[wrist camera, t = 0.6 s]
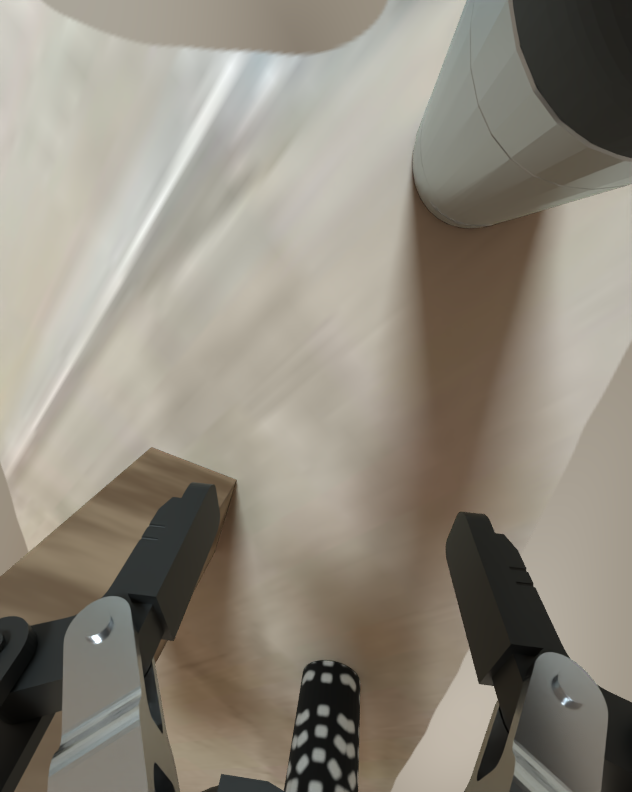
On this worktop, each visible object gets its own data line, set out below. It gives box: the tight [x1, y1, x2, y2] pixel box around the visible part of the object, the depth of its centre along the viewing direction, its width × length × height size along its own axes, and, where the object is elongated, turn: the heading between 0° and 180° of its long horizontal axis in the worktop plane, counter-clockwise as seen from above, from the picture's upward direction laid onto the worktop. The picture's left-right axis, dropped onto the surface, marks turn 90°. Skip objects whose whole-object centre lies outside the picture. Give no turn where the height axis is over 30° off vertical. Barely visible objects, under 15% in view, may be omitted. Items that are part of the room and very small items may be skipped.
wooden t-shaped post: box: [0, 447, 236, 792], centre depth 24 cm, size 20×13×32 cm, turn 161°
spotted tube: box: [284, 661, 360, 792], centre depth 38 cm, size 8×8×20 cm
